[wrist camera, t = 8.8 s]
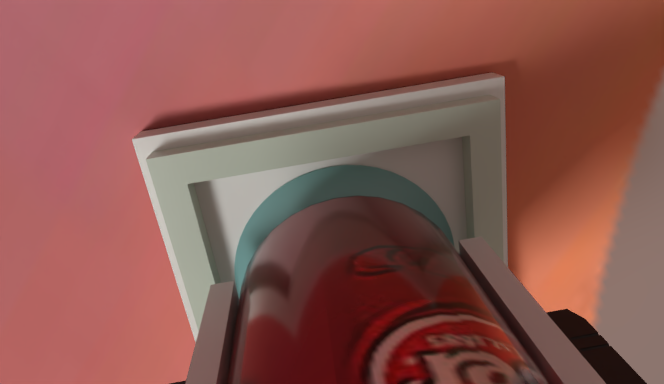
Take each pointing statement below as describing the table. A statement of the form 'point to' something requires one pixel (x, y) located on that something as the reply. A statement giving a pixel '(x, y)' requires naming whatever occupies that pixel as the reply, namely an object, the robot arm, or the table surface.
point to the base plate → (325, 172)
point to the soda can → (369, 305)
